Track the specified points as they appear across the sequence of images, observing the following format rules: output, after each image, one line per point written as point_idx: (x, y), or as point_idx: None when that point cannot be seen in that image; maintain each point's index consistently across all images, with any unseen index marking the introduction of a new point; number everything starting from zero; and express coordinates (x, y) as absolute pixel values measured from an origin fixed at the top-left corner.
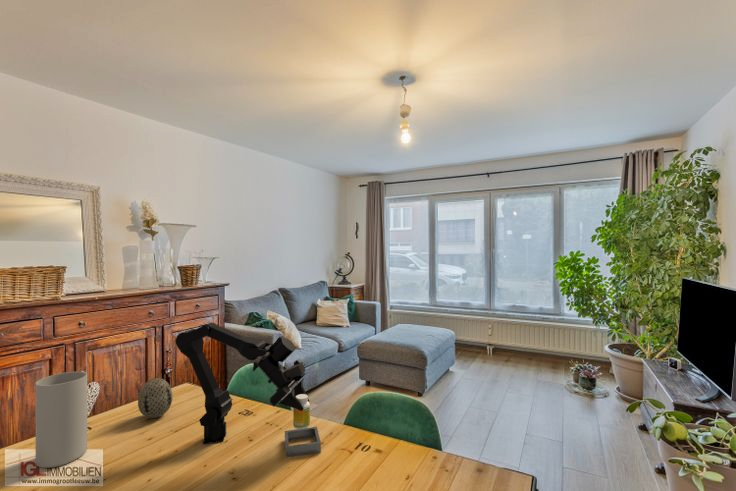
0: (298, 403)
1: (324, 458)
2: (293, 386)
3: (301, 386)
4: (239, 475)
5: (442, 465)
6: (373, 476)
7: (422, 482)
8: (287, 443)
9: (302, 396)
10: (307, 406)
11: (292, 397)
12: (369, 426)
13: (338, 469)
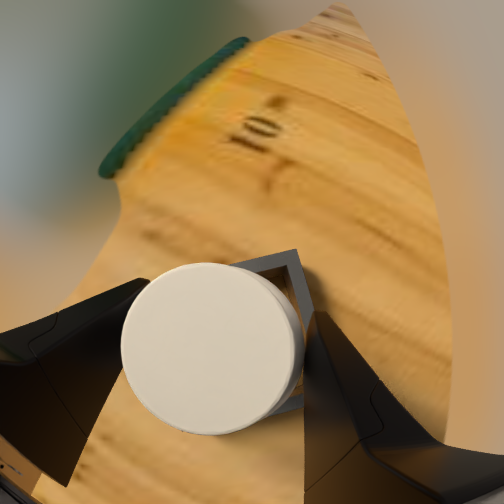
0: (362, 360)
1: (329, 243)
2: (14, 463)
3: (13, 358)
4: None
5: (322, 35)
6: (387, 124)
7: (379, 65)
8: (299, 399)
9: (205, 336)
10: (266, 279)
11: (430, 444)
12: (137, 126)
13: (380, 197)
